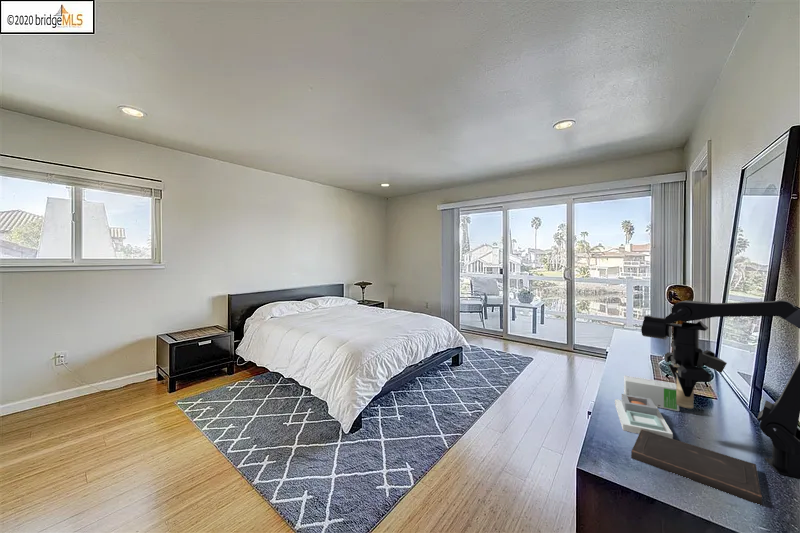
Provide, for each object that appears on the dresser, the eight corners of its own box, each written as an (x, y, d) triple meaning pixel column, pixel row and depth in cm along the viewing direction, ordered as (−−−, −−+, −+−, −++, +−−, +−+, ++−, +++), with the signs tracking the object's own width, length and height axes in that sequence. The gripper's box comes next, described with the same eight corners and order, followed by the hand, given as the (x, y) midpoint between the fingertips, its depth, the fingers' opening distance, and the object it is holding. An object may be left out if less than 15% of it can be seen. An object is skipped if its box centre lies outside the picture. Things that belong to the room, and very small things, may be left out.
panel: (672, 440, 91) (672, 424, 91) (623, 430, 97) (623, 414, 97) (656, 411, 109) (656, 397, 108) (614, 404, 114) (614, 391, 114)
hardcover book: (641, 436, 94) (641, 429, 94) (755, 473, 78) (755, 464, 78) (631, 460, 83) (631, 451, 83) (762, 508, 67) (762, 498, 67)
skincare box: (680, 411, 108) (625, 402, 116) (675, 404, 114) (623, 396, 122) (679, 388, 108) (624, 380, 116) (675, 381, 114) (623, 375, 122)
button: (647, 410, 103) (647, 407, 103) (631, 407, 105) (631, 405, 105) (645, 405, 107) (645, 402, 107) (629, 402, 109) (629, 399, 109)
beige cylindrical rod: (695, 409, 91) (695, 375, 91) (678, 406, 93) (678, 373, 93) (690, 404, 94) (691, 371, 94) (674, 401, 96) (674, 369, 96)
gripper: (737, 354, 81) (737, 413, 81) (709, 338, 97) (709, 387, 98) (682, 349, 86) (681, 404, 87) (664, 334, 103) (663, 381, 103)
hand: (685, 393), depth 93 cm, fingers closed on beige cylindrical rod, 4 cm apart
